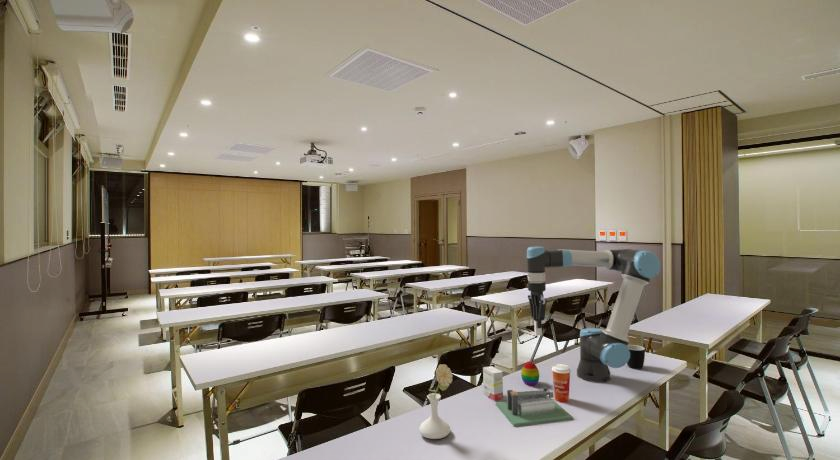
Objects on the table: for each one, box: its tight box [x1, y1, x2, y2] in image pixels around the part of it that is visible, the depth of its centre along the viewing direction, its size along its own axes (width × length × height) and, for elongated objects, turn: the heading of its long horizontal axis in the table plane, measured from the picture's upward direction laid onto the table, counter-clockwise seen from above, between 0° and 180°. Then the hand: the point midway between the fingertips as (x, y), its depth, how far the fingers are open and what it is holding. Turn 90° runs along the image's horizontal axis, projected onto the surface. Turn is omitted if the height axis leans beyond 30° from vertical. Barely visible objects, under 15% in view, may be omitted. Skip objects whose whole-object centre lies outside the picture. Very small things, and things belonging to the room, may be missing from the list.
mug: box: [626, 344, 646, 370], centre depth 204 cm, size 12×9×10 cm
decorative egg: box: [520, 361, 540, 386], centre depth 186 cm, size 8×8×10 cm
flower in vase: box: [418, 363, 454, 440], centre depth 144 cm, size 13×11×25 cm
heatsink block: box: [517, 387, 555, 417], centre depth 159 cm, size 15×10×7 cm
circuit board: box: [495, 400, 573, 427], centre depth 159 cm, size 24×18×1 cm
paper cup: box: [551, 363, 572, 403], centre depth 169 cm, size 8×8×14 cm
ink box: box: [482, 365, 504, 402], centre depth 173 cm, size 9×5×12 cm, turn 24°
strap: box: [510, 389, 550, 397], centre depth 158 cm, size 17×3×1 cm, turn 101°
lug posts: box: [506, 389, 518, 415], centre depth 157 cm, size 2×5×8 cm, turn 11°
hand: (538, 334), depth 175 cm, fingers closed
